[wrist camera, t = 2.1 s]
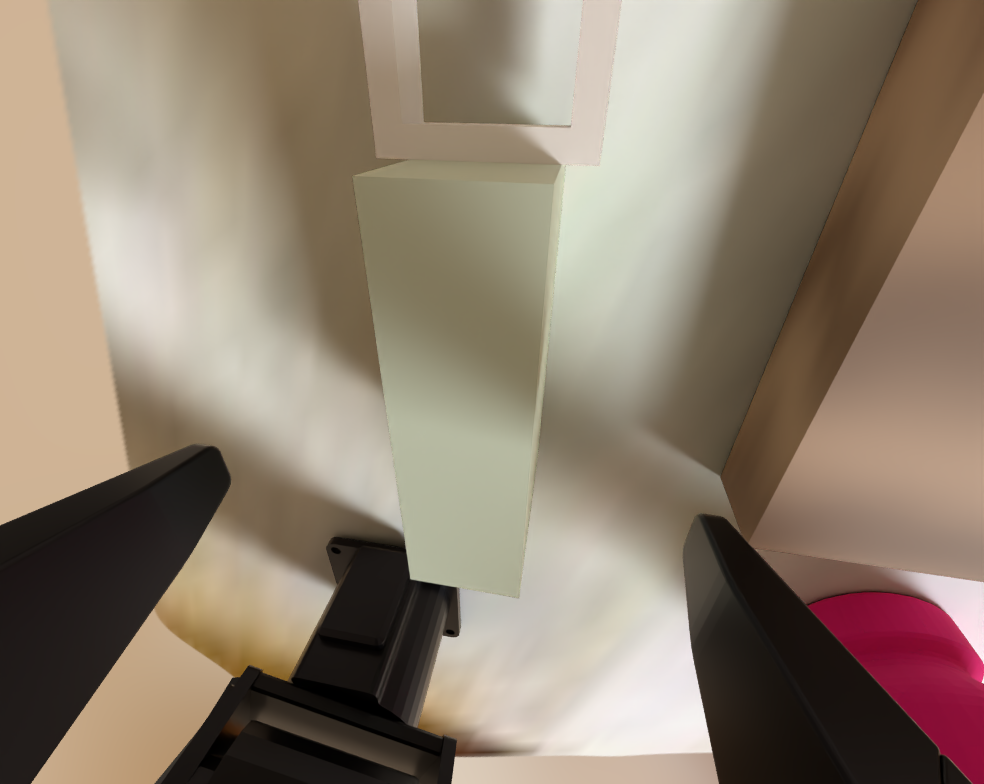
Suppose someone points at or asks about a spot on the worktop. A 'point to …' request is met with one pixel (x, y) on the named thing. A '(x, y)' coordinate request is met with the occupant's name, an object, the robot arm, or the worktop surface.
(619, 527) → the worktop surface
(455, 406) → the light grey piece
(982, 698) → the pepper mill
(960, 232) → the brown open rectangular box
